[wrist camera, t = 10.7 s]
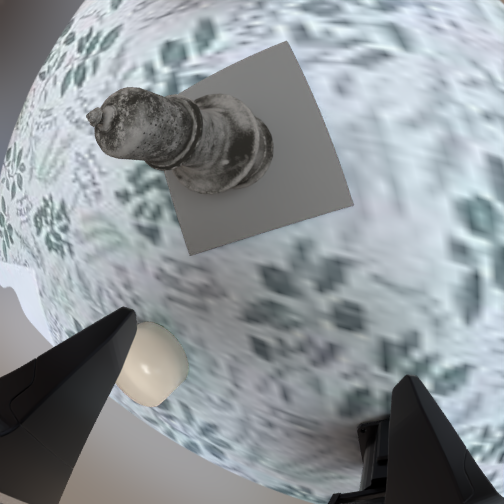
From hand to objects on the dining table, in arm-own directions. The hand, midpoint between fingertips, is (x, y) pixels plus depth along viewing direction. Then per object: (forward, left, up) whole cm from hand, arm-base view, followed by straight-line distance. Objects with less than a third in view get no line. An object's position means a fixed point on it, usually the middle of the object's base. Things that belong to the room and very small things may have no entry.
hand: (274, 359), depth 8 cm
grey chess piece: (+9, +3, -11) cm, 15 cm away
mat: (+9, +3, -11) cm, 15 cm away
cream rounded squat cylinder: (-5, +17, -11) cm, 21 cm away
